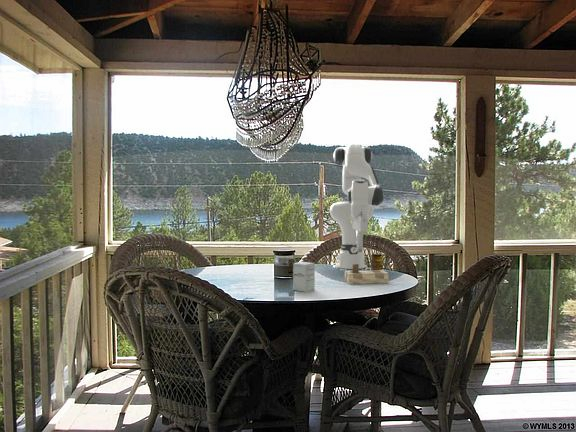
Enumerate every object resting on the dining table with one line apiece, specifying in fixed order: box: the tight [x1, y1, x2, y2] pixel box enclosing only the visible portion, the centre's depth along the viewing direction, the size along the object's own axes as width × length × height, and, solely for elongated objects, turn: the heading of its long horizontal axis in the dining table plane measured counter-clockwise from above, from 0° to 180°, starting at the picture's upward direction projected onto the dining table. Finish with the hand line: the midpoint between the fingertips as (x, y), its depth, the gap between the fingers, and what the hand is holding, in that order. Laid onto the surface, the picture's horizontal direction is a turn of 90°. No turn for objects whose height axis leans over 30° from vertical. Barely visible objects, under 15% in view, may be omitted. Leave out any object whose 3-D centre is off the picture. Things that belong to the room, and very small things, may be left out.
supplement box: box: [292, 261, 316, 293], centre depth 251 cm, size 7×7×13 cm
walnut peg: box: [352, 264, 360, 273], centre depth 273 cm, size 3×3×9 cm
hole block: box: [344, 269, 389, 285], centre depth 273 cm, size 9×20×5 cm, turn 96°
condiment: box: [370, 253, 383, 271], centre depth 290 cm, size 7×8×12 cm
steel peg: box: [357, 230, 364, 253], centre depth 274 cm, size 3×3×12 cm
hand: (359, 239), depth 274 cm, fingers closed on steel peg, 3 cm apart
